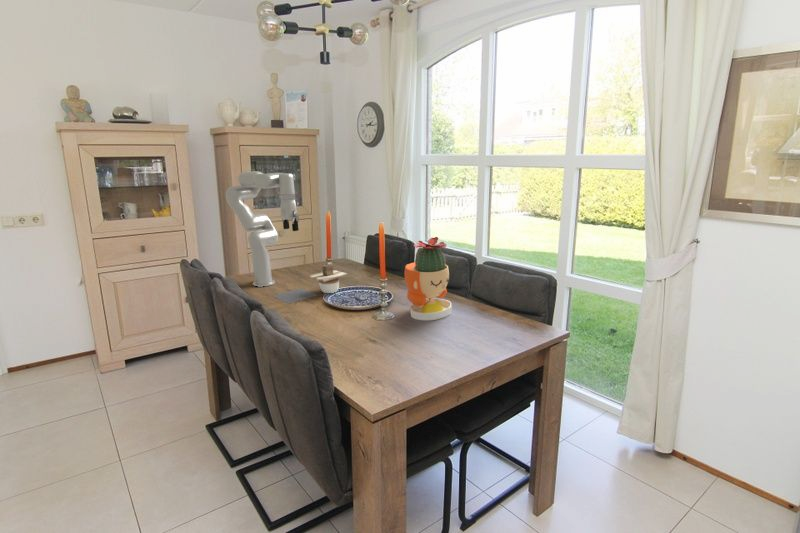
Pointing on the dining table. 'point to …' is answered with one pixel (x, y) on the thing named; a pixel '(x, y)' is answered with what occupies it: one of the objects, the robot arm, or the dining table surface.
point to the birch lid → (328, 274)
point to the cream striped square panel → (295, 295)
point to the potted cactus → (428, 282)
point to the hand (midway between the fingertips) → (291, 229)
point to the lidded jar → (329, 286)
